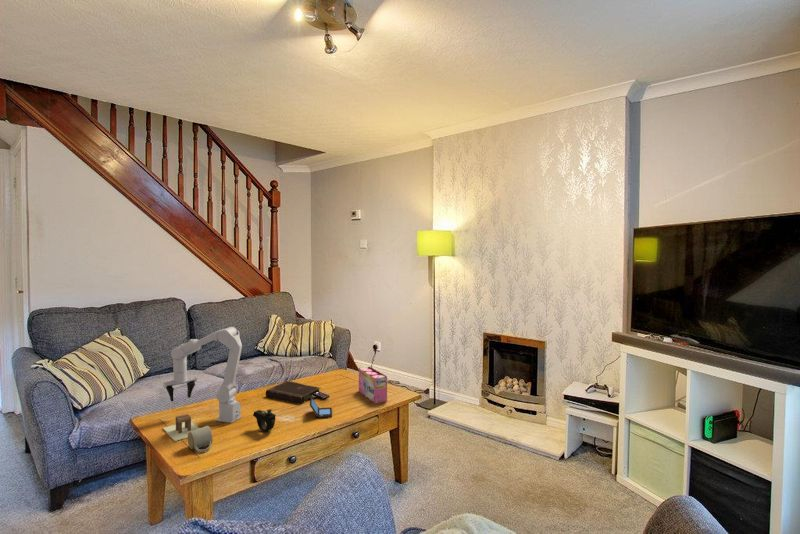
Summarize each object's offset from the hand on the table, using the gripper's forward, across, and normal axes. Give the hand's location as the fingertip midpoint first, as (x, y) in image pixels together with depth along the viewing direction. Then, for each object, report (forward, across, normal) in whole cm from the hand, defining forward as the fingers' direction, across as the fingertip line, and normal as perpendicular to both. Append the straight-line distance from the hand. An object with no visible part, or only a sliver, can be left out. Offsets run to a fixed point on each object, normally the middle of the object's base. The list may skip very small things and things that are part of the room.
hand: (180, 399), depth 210 cm
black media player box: (+10, -57, +8) cm, 58 cm away
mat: (+9, +4, +17) cm, 20 cm away
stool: (+9, +4, +17) cm, 20 cm away
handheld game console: (+10, -53, +41) cm, 68 cm away
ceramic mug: (+10, +3, +39) cm, 41 cm away
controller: (+10, -24, +41) cm, 48 cm away
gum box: (+10, -89, +37) cm, 97 cm away
